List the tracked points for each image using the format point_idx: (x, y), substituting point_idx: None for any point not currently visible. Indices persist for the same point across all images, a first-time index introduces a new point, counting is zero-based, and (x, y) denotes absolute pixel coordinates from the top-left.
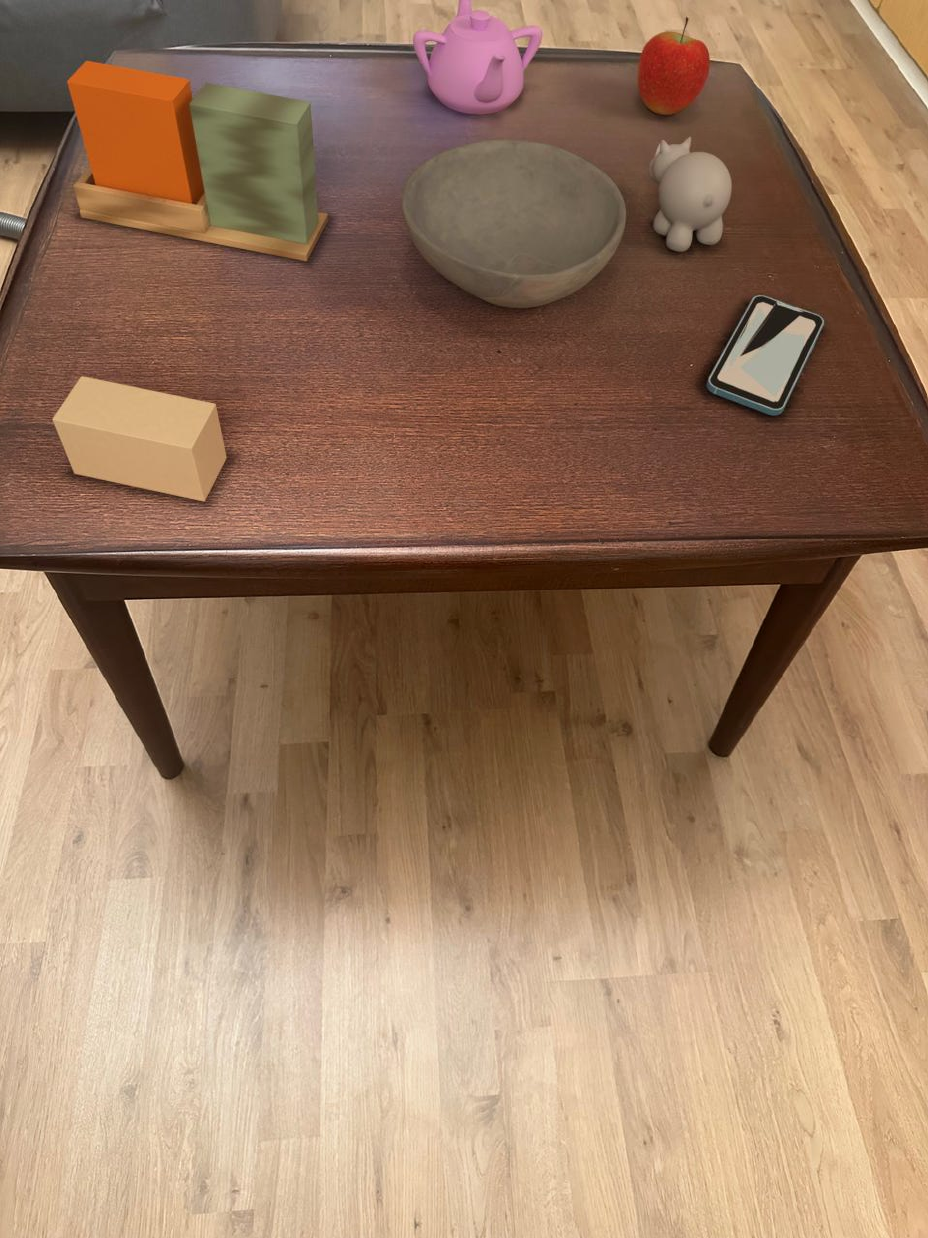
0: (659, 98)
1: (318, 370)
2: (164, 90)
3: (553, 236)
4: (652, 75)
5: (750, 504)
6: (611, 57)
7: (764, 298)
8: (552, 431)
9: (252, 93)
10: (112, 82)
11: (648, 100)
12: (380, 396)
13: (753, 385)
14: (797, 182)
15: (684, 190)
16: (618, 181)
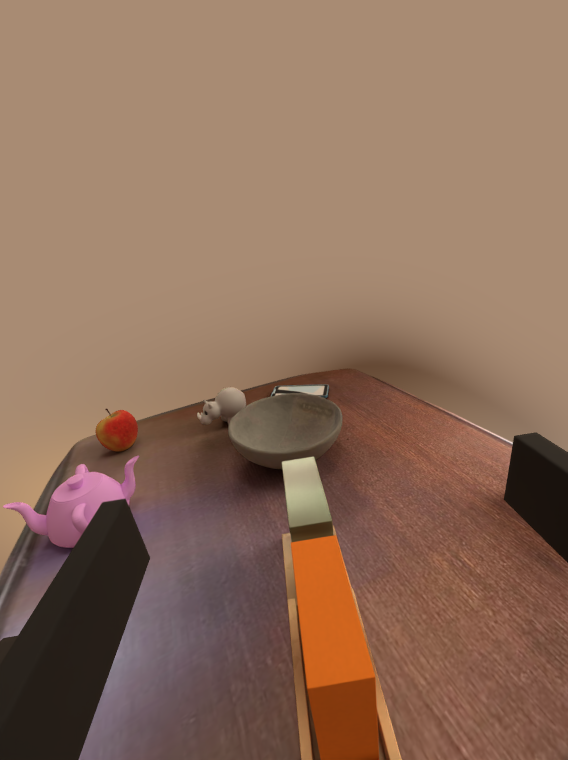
0: (134, 435)
1: (418, 484)
2: (323, 550)
3: (267, 436)
4: (128, 430)
5: (369, 384)
6: (56, 477)
7: (272, 395)
8: (379, 416)
9: (289, 491)
10: (340, 610)
11: (130, 442)
12: (411, 459)
13: (320, 389)
14: (186, 408)
15: (241, 396)
16: (196, 444)
